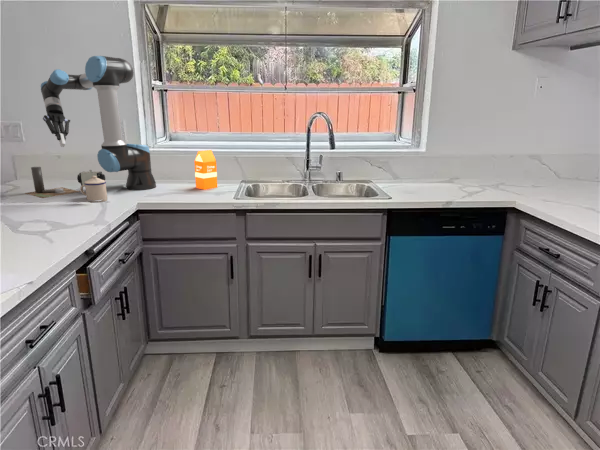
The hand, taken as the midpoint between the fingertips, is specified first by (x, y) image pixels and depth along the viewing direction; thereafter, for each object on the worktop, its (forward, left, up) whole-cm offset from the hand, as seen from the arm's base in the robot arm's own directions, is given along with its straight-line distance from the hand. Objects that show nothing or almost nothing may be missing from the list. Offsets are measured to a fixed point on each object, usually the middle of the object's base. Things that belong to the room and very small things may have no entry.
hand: (63, 145), depth 210 cm
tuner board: (-8, +12, -23) cm, 27 cm away
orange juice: (-54, -46, -23) cm, 75 cm away
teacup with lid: (-35, +7, -23) cm, 43 cm away
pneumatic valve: (-21, -1, -23) cm, 31 cm away
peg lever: (-7, +13, -21) cm, 26 cm away
